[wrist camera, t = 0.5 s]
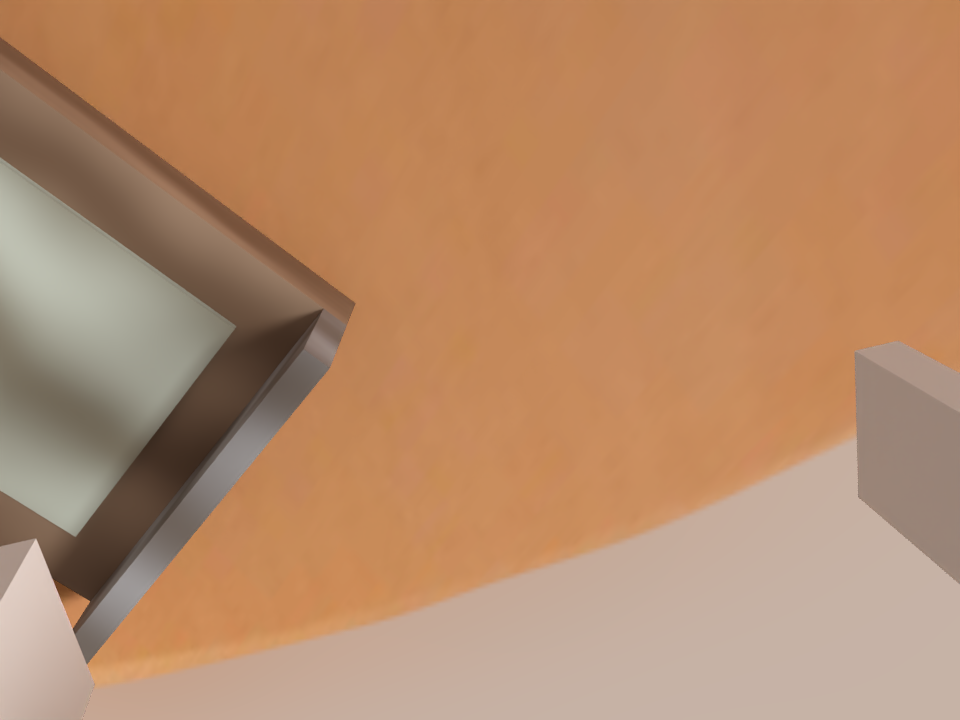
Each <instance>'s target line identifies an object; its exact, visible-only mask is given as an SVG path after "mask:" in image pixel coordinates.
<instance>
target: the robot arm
mask: <svg viewBox="0 0 960 720" xmlns="http://www.w3.org/2000/svg"><path fill="white" fill-rule="evenodd" d="M855 381H856V421H857V458H858V459H857V460H858V497H859V498H860V499H861V500H862V501H864V502H865V503H866V504H867V505H868V506H869V507H870V508H872V509H873V510H874V511H875V512H876V513H877V514H879V515H880V516H881V517H882V518H883V519H884V520H886V521H887V522H888V523H889V524H890V525H891V526H893V527H894V528H895V529H896V530H897V531H898V532H900V533H901V534H902V535H903V536H904V537H905V538H907V539H908V540H909V541H910V542H912V544H914V545H915V546H916V547H917V548H918V549H919V550H921V551H922V552H923V553H924V554H925V555H926V556H928V557H929V558H930V559H931V560H932V561H934V562H935V563H936V564H937V565H938V566H939V567H940V568H942V569H943V570H944V571H945V572H946V573H948V574H949V575H950V576H951V577H952V578H953V579H954V580H956V581H957V582H958V583H959V584H960V373H958V372H956V371H955V370H953V369H951V368H949V367H947V366H945V365H943V364H941V363H939V362H938V361H936V360H934V359H932V358H930V357H928V356H926V355H924V354H922V353H920V352H919V351H917V350H915V349H913V348H911V347H909V346H907V345H905V344H903V343H902V342H900V341H895V342H891V343H887V344H882V345H878V346H874V347H869V348H865V349H860V350H856V351H855ZM94 685H95V684H94V681H93V679H92V676H91V674H90V671H89V669H88V666H87V664H86V661H85V659H84V656H83V654H82V651H81V649H80V646H79V644H78V641H77V639H76V636H75V634H74V631H73V629H72V626H71V624H70V622H69V619H68V617H67V614H66V612H65V609H64V607H63V604H62V602H61V599H60V597H59V594H58V592H57V589H56V587H55V584H54V582H53V579H52V577H51V574H50V572H49V569H48V567H47V564H46V562H45V559H44V557H43V554H42V552H41V549H40V547H39V544H38V542H37V539H36V538H35V539H31V540H26V541H22V542H18V543H13V544H9V545H5V546H0V720H82V719H83V717H84V714H85V711H86V708H87V705H88V702H89V699H90V697H91V694H92V691H93V688H94Z"/></svg>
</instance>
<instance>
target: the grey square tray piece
mask: <svg viewBox="0 0 960 720" xmlns="http://www.w3.org/2000/svg"><path fill="white" fill-rule="evenodd" d="M354 306H355V303H354V302H353V301H351V300H350V299H349V298H347V297H346V296H345V295H343V294H342V293H341V292H339V291H338V290H337V289H335V288H334V287H333V286H331V285H330V284H329V283H327V282H326V281H325V280H323V279H322V278H321V277H319V276H318V275H317V274H315V273H314V272H313V271H311V270H310V269H309V268H307V267H306V266H305V265H303V264H302V263H301V262H299V261H298V260H297V259H295V258H294V257H293V256H291V255H290V254H289V253H287V252H286V251H285V250H283V249H282V248H281V247H279V246H278V245H277V244H275V243H274V242H273V241H271V240H270V239H269V238H267V237H266V236H265V235H263V234H262V233H261V232H259V231H258V230H257V229H255V228H254V227H253V226H251V225H250V224H249V223H247V222H246V221H245V220H243V219H242V218H241V217H239V216H238V215H237V214H235V213H234V212H233V211H231V210H230V209H229V208H227V207H226V206H225V205H223V204H222V203H221V202H219V201H218V200H217V199H215V198H214V197H212V196H211V195H210V194H208V193H207V192H206V191H204V190H203V189H202V188H200V187H199V186H198V185H196V184H195V183H194V182H192V181H191V180H190V179H188V178H187V177H186V176H184V175H183V174H182V173H180V172H179V171H178V170H176V169H175V168H174V167H172V166H171V165H170V164H168V163H167V162H166V161H164V160H163V159H162V158H160V157H159V156H158V155H156V154H155V153H154V152H152V151H151V150H150V149H148V148H147V147H146V146H144V145H143V144H142V143H140V142H139V141H138V140H136V139H135V138H134V137H132V136H131V135H130V134H128V133H127V132H126V131H124V130H123V129H122V128H120V127H119V126H118V125H116V124H115V123H114V122H112V121H111V120H110V119H108V118H107V117H106V116H104V115H103V114H102V113H100V112H99V111H98V110H96V109H95V108H94V107H92V106H91V105H90V104H88V103H87V102H86V101H84V100H83V99H82V98H80V97H79V96H78V95H76V94H75V93H74V92H72V91H71V90H70V89H68V88H67V87H66V86H64V85H63V84H62V83H60V82H59V81H58V80H56V79H55V78H54V77H52V76H51V75H50V74H48V73H47V72H46V71H44V70H43V69H42V68H40V67H39V66H37V65H36V64H35V63H33V62H32V61H31V60H29V59H28V58H27V57H25V56H24V55H23V54H21V53H20V52H19V51H17V50H16V49H15V48H13V47H12V46H11V45H9V44H8V43H7V42H5V41H4V40H3V39H1V38H0V546H5V545H9V544H13V543H18V542H22V541H26V540H31V539H35V538H36V539H37V542H38V544H39V547H40V549H41V552H42V554H43V557H44V559H45V562H46V564H47V567H48V569H49V572H50V574H51V577H52V578H53V579H54V580H56V581H58V582H59V583H61V584H63V585H64V586H66V587H68V588H69V589H71V590H73V591H74V592H76V593H78V594H79V595H81V596H83V597H84V598H86V599H88V600H89V601H90V603H89V605H88V606H87V608H86V609H85V611H84V612H83V614H82V615H81V617H80V619H79V620H78V622H77V623H76V625H75V626H74V628H73V631H74V634H75V636H76V639H77V641H78V644H79V646H80V649H81V651H82V654H83V656H84V659H85V661H86V664H88V662H89V661H90V660H91V659H92V658H93V656H94V655H95V654H96V653H97V651H98V650H99V649H100V648H101V647H102V645H103V644H104V643H105V642H106V640H107V639H108V638H109V637H110V636H111V634H112V633H113V632H114V631H115V629H116V628H117V627H118V626H119V625H120V623H121V622H122V621H123V620H124V618H125V617H126V616H127V615H128V614H129V612H130V611H131V610H132V609H133V608H134V606H135V605H136V604H137V603H138V601H139V600H140V599H141V598H142V597H143V595H144V594H145V593H146V592H147V590H148V589H149V588H150V587H151V586H152V584H153V583H154V582H155V581H156V579H157V578H158V577H159V576H160V575H161V573H162V572H163V571H164V570H165V568H166V567H167V566H168V565H169V564H170V562H171V561H172V560H173V559H174V557H175V556H176V555H177V554H178V553H179V551H180V550H181V549H182V548H183V546H184V545H185V544H186V543H187V542H188V540H189V539H190V538H191V537H192V535H193V534H194V533H195V532H196V531H197V529H198V528H199V527H200V526H201V525H202V523H203V522H204V521H205V520H206V518H207V517H208V516H209V515H210V514H211V512H212V511H213V510H214V509H215V507H216V506H217V505H218V504H219V503H220V501H221V500H222V499H223V498H224V496H225V495H226V494H227V493H228V492H229V490H230V489H231V488H232V487H233V485H234V484H235V483H236V482H237V481H238V479H239V478H240V477H241V476H242V474H243V473H244V472H245V471H246V470H247V468H248V467H249V466H250V465H251V463H252V462H253V461H254V460H255V459H256V457H257V456H258V455H259V454H260V452H261V451H262V450H263V449H264V448H265V446H266V445H267V444H268V443H269V441H270V440H271V439H272V438H273V437H274V435H275V434H276V433H277V432H278V431H279V429H280V428H281V427H282V426H283V424H284V423H285V422H286V421H287V420H288V418H289V417H290V416H291V415H292V413H293V412H294V411H295V410H296V409H297V407H298V406H299V405H300V404H301V402H302V401H303V400H304V399H305V398H306V396H307V395H308V394H309V393H310V391H311V390H312V389H313V388H314V387H315V385H316V384H317V383H318V382H319V380H320V379H321V378H322V377H323V376H324V374H325V373H326V372H327V371H328V369H329V368H330V366H331V364H332V361H333V359H334V356H335V354H336V351H337V349H338V346H339V343H340V341H341V338H342V336H343V333H344V331H345V328H346V326H347V323H348V321H349V318H350V316H351V313H352V311H353V308H354Z"/></svg>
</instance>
